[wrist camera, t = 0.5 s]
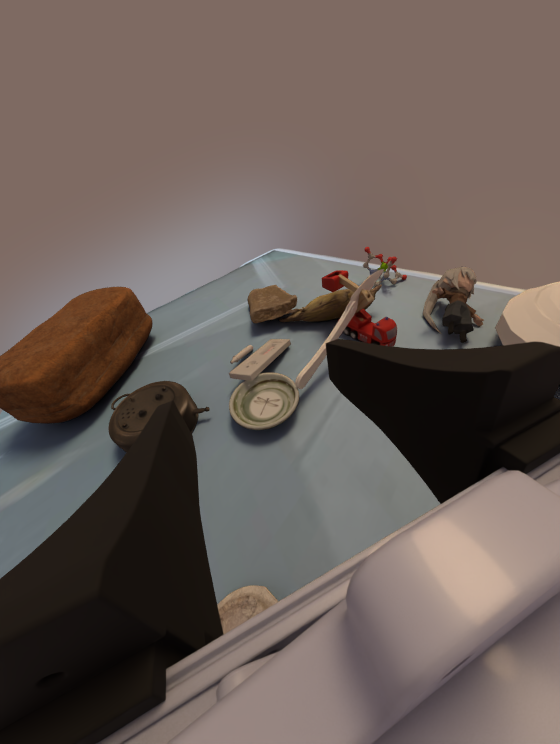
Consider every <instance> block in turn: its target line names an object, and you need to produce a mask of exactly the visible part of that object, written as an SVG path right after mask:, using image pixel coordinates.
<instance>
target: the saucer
mask: <svg viewBox="0 0 560 744" xmlns="http://www.w3.org/2000/svg"><path fill="white" fill-rule="evenodd" d="M298 401H299V392H298V388H297V387H296V386H295V383H294V382H293V381H292V380H291V379H290V378H288V377H287V376H285V375H282V374H278V373H262V374H259V375H258V376H257V377H255V378H254V379H253V380H252V381H249V380H245V381H244V382H242V383H241V384H240V385H239V386H238V387H237V388H236V389H235V391H234V392H233V394H232V396H231V398H230V402H229V410H230V414H231V416H232V418H233V419H234V420H235V421H236V422H237V423H238V424H239V425H241V426H242V427H245V428H248V429H252V430H264V429H269V428H272V427H275V426H277V425H279V424H281V423H283V422H284V421H285V420H286V419H288V418H289V417H290V416H291V415H292V413H293V412H294V410H295V409H296V407H297V404H298Z"/></svg>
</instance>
